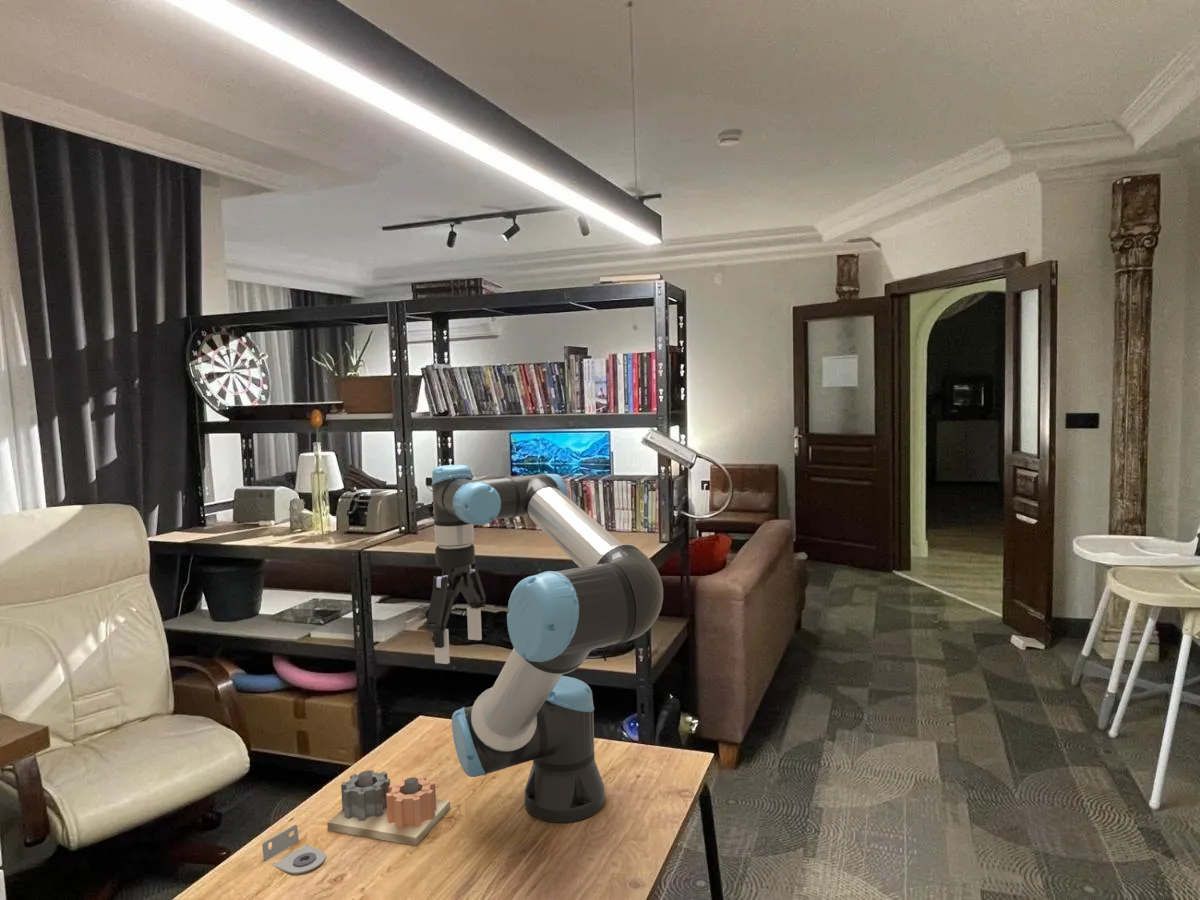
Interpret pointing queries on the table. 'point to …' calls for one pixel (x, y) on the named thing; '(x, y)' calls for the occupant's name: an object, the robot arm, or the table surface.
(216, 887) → the table surface
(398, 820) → the gear
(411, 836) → the gear board
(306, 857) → the bracket
